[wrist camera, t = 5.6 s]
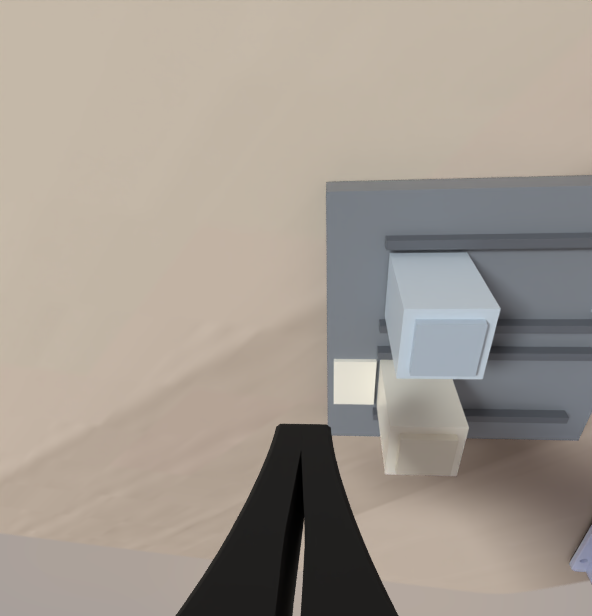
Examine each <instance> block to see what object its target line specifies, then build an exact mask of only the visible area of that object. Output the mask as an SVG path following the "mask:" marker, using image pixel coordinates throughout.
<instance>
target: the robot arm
mask: <svg viewBox="0 0 592 616" xmlns="http://www.w3.org/2000/svg"><path fill="white" fill-rule="evenodd" d="M303 523H304V524H305V551H304V569H303V587H302V603H301V616H398V614H397V612H396V610H395V608H394V606H393V604H392V602H391V600H390V598H389V596H388V594H387V592H386V590H385V588H384V586H383V584H382V581H381V579H380V577H379V575H378V573H377V571H376V568H375V566H374V564H373V562H372V560H371V557H370V555H369V553H368V550H367V548H366V546H365V543H364V541H363V538H362V536H361V533H360V531H359V528H358V526H357V523H356V521H355V518H354V515H353V513H352V510H351V507H350V504H349V501H348V498H347V495H346V492H345V489H344V486H343V483H342V480H341V476H340V473H339V469H338V465H337V461H336V457H335V453H334V448H333V442H332V434H331V427H329V426H328V425H321V424H280V425H278V426H277V427H276V430H275V434H274V437H273V440H272V443H271V446H270V449H269V452H268V454H267V457H266V459H265V462H264V464H263V466H262V469H261V471H260V473H259V476H258V478H257V480H256V482H255V484H254V486H253V488H252V490H251V493H250V495H249V497H248V499H247V501H246V503H245V505H244V507H243V508H242V510H241V512H240V514H239V516H238V518H237V520H236V521H235V523H234V525H233V527H232V529H231V531H230V533H229V534H228V536H227V538H226V539H225V541H224V543H223V545H222V546H221V548H220V550H219V551H218V553H217V555H216V556H215V558H214V559H213V561H212V563H211V564H210V566H209V567H208V569H207V571H206V572H205V574H204V575H203V577H202V578H201V580H200V581H199V583H198V584H197V586H196V587H195V588H194V590H193V591H192V593H191V594H190V596H189V597H188V599H187V600H186V602H185V603H184V605H183V606H182V608H181V609H180V610H179V612H178V613H177V614H176V616H292V613H293V603H294V595H295V587H296V579H297V571H298V563H299V555H300V547H301V539H302V531H303ZM569 565H570V567H571V569H572V570H574V571H579V572H586V573H587V575H588V577H589V579H590V582H591V584H592V525H591V527H590V529H589V530H588V532H587V534H586V535H585V537H584V539H583V541H582V542H581V544H580V546H579V547H578V549H577V551H576V553H575V554H574V556H573V558H572V559H571V561H570V563H569Z"/></svg>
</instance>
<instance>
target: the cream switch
mask: <svg viewBox="0 0 592 616" xmlns="http://www.w3.org/2000/svg"><path fill="white" fill-rule="evenodd" d="M377 413H378V421H379V430H380V438H381V446H382V454H383V462H384V471H385V474H396V475H424V476H457V473H458V469H459V465H460V461H461V458H462V454H463V450H464V446H465V442H466V438H467V434H468V430H469V426H468V423H467V420H466V417H465V414H464V411H463V409H462V406H461V403H460V400H459V397H458V394H457V391H456V388H455V385H454V382H453V379H396V374H395V368H394V363H393V360H380V368H379V381H378V393H377Z"/></svg>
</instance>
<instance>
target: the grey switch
mask: <svg viewBox="0 0 592 616" xmlns="http://www.w3.org/2000/svg"><path fill="white" fill-rule="evenodd" d="M500 309H501V308H500V307H499V305H498V303H497V302H496V300H495V298H494V297H493V295H492V293H491V292H490V290H489V288H488V287H487V285H486V283H485V281H484V280H483V278H482V276H481V275H480V273H479V271H478V270H477V268H476V266H475V265H474V263H473V261H472V260H471V258H470V256H469V254H468V253H467V252H457V253H390V256H389V268H388V280H387V293H386V305H385V320H386V325H387V331H388V336H389V342H390V347H391V352H392V358H393V363H394V368H395V374H396V379H483V376H484V372H485V368H486V364H487V360H488V356H489V352H490V348H491V344H492V341H493V337H494V333H495V329H496V325H497V321H498V317H499V313H500Z"/></svg>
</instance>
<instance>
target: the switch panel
mask: <svg viewBox="0 0 592 616" xmlns="http://www.w3.org/2000/svg"><path fill="white" fill-rule="evenodd" d="M326 224H327V368H328V426H329V427H331V434H332V435H337V436H380V430H379V421H378V413H377V393H378V381H379V368H380V360H393V358H392V352H391V347H390V342H389V336H388V331H387V325H386V320H385V305H386V293H387V280H388V268H389V256H390V253H457V252H467V253H468V254H469V256H470V258H471V260H472V261H473V263H474V265H475V266H476V268H477V270H478V271H479V273H480V275H481V276H482V278H483V280H484V281H485V283H486V285H487V287H488V288H489V290H490V292H491V293H492V295H493V297H494V298H495V300H496V302H497V303H498V305H499V307H500V308H501V309H500V313H499V317H498V321H497V325H496V329H495V333H494V337H493V341H492V344H491V348H490V352H489V356H488V360H487V364H486V368H485V372H484V376H483V379H453V382H454V385H455V388H456V391H457V394H458V397H459V400H460V403H461V406H462V409H463V411H464V414H465V417H466V420H467V423H468V426H469V430H468V434H467V438H482V439H530V440H579V438H580V436H581V434H582V432H583V429H584V427H585V425H586V423H587V421H588V419H589V417H590V415H591V412H592V175H582V176H542V177H502V178H462V179H422V180H382V181H342V182H326Z"/></svg>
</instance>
